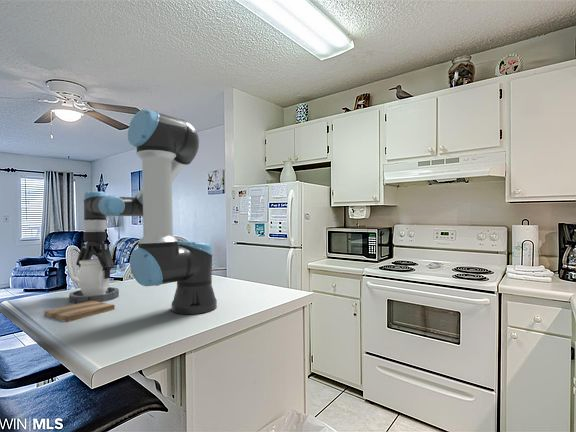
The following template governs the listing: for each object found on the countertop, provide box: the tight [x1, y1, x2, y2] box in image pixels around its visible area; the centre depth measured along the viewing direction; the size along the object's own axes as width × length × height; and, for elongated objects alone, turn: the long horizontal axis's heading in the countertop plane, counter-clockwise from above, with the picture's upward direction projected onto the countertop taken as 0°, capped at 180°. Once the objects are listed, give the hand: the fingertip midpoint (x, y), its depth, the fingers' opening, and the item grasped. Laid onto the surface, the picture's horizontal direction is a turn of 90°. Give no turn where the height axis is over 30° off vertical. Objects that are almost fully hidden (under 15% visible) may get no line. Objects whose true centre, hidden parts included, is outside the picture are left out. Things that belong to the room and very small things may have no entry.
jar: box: [78, 258, 108, 296], centre depth 125 cm, size 11×10×15 cm
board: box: [43, 301, 116, 323], centre depth 106 cm, size 13×15×2 cm
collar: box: [68, 286, 120, 304], centre depth 125 cm, size 16×16×2 cm
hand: (94, 285), depth 125 cm, fingers open, 13 cm apart
